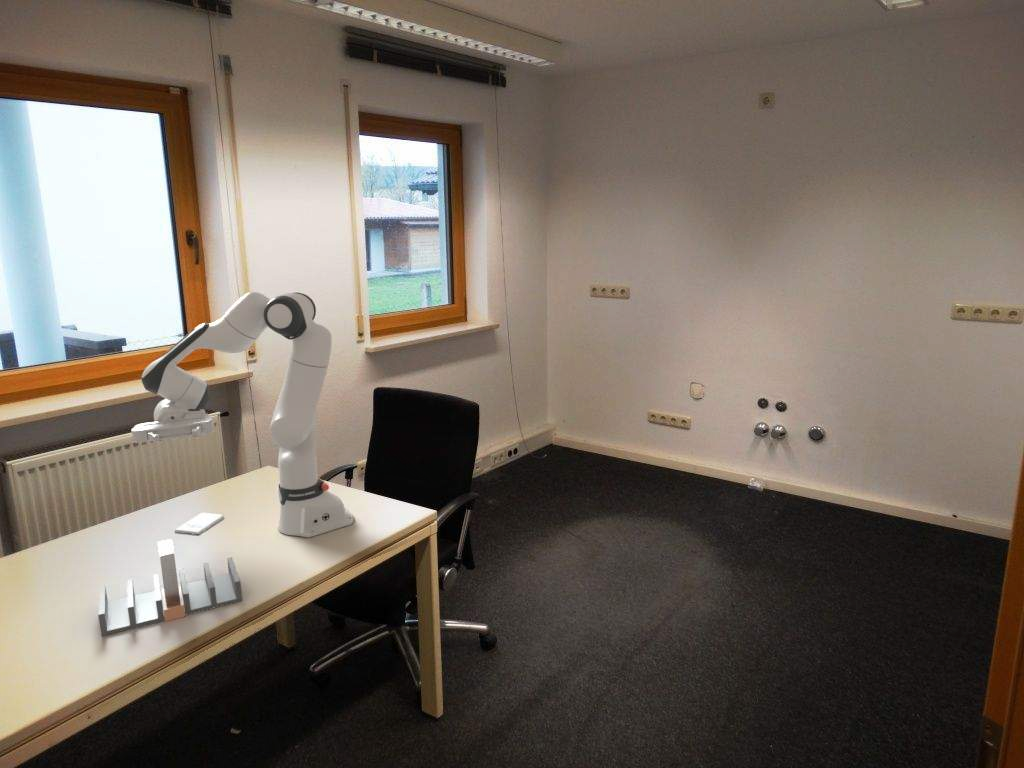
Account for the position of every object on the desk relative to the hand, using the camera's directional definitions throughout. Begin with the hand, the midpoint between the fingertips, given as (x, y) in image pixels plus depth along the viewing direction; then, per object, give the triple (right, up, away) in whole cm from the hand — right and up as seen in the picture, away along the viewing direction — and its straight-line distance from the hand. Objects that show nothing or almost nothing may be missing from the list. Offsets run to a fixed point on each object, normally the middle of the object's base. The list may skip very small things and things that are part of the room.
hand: (176, 436), depth 181 cm
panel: (+6, -39, -13) cm, 42 cm away
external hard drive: (-8, -30, +30) cm, 44 cm away
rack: (+6, -40, -13) cm, 43 cm away
